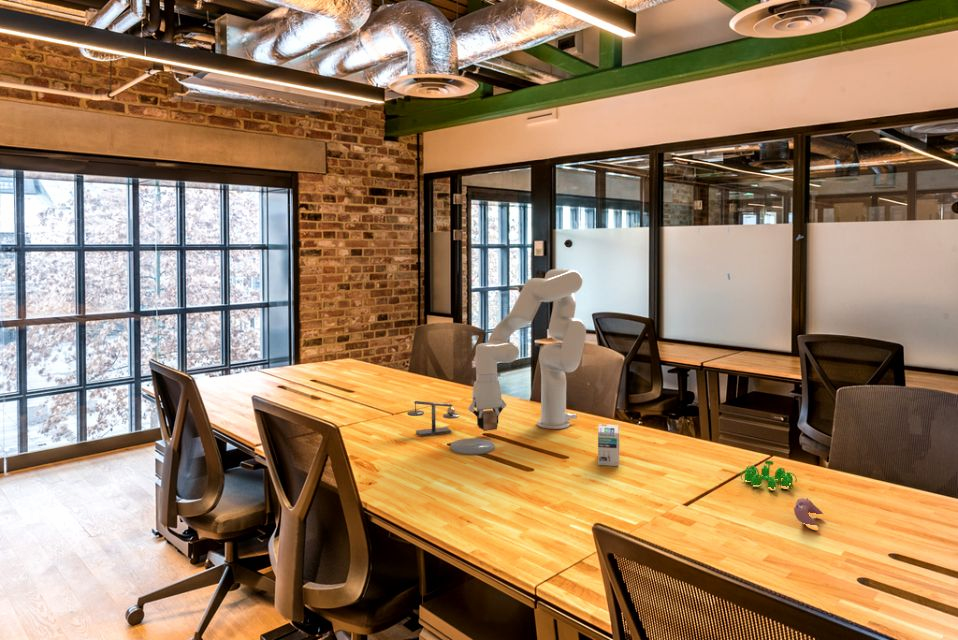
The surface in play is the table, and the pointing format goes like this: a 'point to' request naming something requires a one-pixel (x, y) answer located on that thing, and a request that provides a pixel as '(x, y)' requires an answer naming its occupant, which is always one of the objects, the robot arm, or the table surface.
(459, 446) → the dish
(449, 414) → the balance
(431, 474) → the table surface
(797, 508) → the purple rounded piece
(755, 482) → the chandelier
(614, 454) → the light bulb box
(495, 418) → the walnut block
